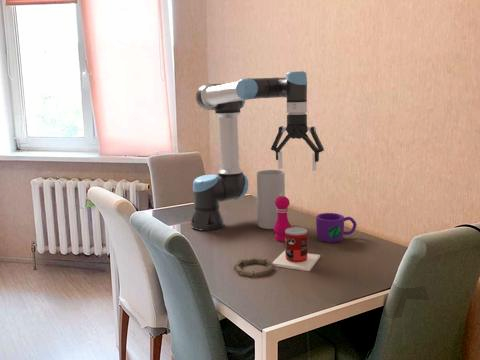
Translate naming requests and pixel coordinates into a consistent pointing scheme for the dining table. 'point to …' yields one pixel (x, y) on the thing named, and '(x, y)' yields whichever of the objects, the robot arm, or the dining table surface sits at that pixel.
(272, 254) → the dining table surface
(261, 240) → the dining table surface
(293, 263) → the coaster
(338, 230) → the mug
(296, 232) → the canned food
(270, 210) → the cylinder vase
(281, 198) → the pepper mill
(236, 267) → the wooden polygonal ring
